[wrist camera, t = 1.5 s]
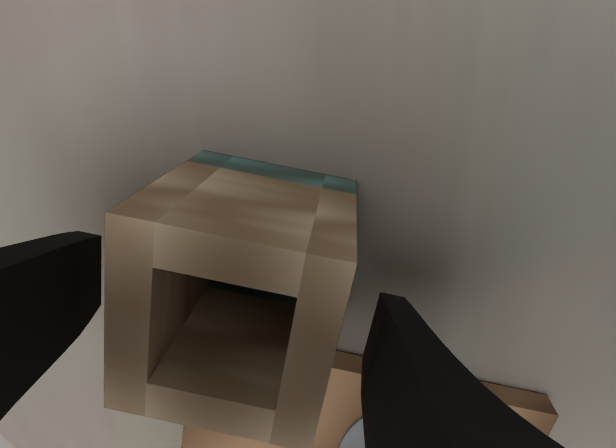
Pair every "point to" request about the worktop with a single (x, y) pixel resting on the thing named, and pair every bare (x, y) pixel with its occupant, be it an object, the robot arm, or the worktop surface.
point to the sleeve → (228, 296)
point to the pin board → (348, 412)
